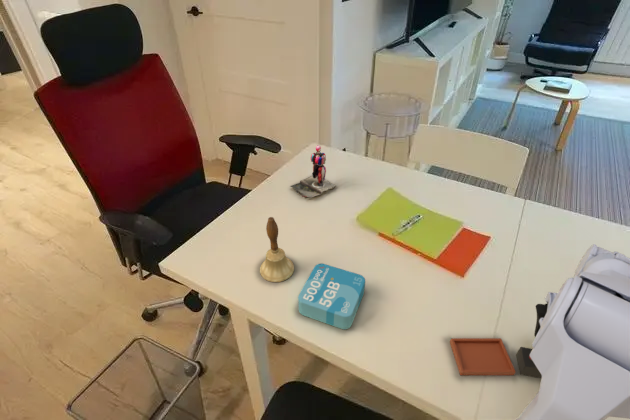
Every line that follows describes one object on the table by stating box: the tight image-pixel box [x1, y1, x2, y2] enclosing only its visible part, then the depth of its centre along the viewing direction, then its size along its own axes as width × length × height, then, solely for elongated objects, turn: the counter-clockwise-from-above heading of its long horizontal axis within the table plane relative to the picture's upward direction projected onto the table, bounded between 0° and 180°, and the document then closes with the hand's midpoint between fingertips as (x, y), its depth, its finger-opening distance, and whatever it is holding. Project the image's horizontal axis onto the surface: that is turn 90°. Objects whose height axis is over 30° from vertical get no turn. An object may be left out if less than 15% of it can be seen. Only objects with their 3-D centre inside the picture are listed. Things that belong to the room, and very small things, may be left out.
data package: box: [297, 262, 366, 330], centre depth 81 cm, size 12×4×12 cm
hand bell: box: [259, 216, 295, 283], centre depth 85 cm, size 8×8×16 cm
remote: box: [515, 346, 542, 379], centre depth 70 cm, size 7×4×3 cm, turn 78°
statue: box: [289, 145, 337, 199], centre depth 112 cm, size 11×9×15 cm
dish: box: [449, 337, 517, 376], centre depth 72 cm, size 10×7×1 cm
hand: (545, 355), depth 68 cm, fingers open, 7 cm apart
